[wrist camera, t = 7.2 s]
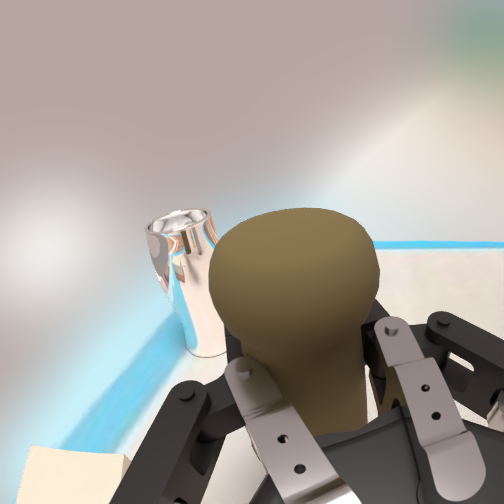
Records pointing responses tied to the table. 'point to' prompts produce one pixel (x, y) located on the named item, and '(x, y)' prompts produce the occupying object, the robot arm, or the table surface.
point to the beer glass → (188, 275)
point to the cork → (301, 307)
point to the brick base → (70, 477)
